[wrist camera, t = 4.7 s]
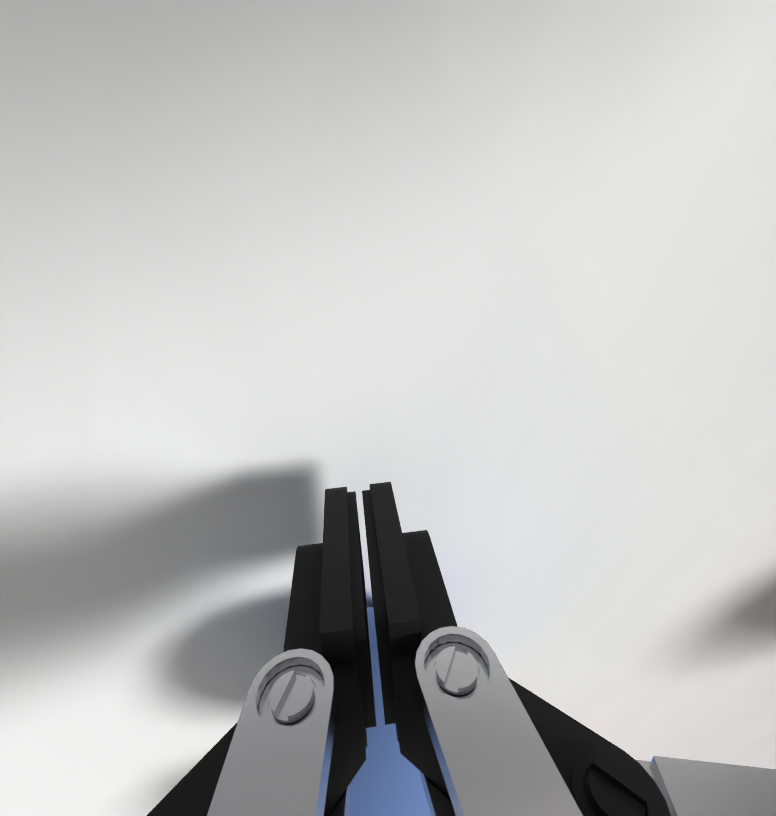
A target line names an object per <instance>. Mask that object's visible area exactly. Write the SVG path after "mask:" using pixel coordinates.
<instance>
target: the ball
mask: <svg viewBox="0 0 776 816" xmlns="http://www.w3.org/2000/svg"><path fill="white" fill-rule="evenodd" d="M367 616H368V629H369V641H370V653H371V665H372V677H373V689H374V701H375V714H376V727H370V728H366V731H367V747H366V760H365V762H364V763H363V765H362V766H361V768H360V769H359V771H358V772H357V774H356V775H355V777H354V778H353V780H352V781H351V796H350V808H349V816H431V813H430V809H429V806H428V802H427V799H426V795H425V791H424V788H423V784H422V781H421V776H420V770H418V769H417V768H416V767H415V766H414V765H413V764H412V763H411V762H410V761H408V760H407V759H406V758H405V757H404V756H403V755H402V754H401V753H400V747H399V742H398V741H397V733H396V725H395V723H394V724H388V725H385V719H384V709H383V699H382V689H381V679H380V669H379V659H378V649H377V639H376V629H375V619H374V609H373V607H367Z"/></svg>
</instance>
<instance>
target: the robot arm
mask: <svg viewBox="0 0 776 816" xmlns="http://www.w3.org/2000/svg"><path fill="white" fill-rule="evenodd" d="M362 495H363V505H364V516H365V526H366V537H367V547H368V558H369V568H370V579H371V589H372V599H373V609H374V619H375V629H376V639H377V649H378V659H379V669H380V679H381V689H382V699H383V709H384V719H385V725H388V724H394V723H395V725H396V733H397V741H398V742H399V747H400V753H401V754H402V755H403V756H404V757H405V758H406V759H407V760H408V761H410V762H411V763H412V764H413V765H414V766H415V767H416V768H417V769H418V770H420V776H421V781H422V784H423V788H424V791H425V795H426V799H427V802H428V806H429V809H430V813H431V816H776V770H775V769H767V768H758V767H749V766H740V765H731V764H722V763H713V762H704V761H695V760H686V759H677V758H668V757H659V756H653V759H652V761H651V762H650V761H641V760H635V759H633V758H632V757H631V756H630V755H628V754H627V753H626V752H625V751H623V750H622V749H620V748H618V747H617V746H615V745H614V744H612V743H611V742H609V741H607V740H606V739H604V738H603V737H601V736H600V735H598V734H596V733H595V732H593V731H592V730H590V729H589V728H587V727H585V726H584V725H582V724H581V723H579V722H578V721H576V720H574V719H573V718H571V717H570V716H568V715H566V714H565V713H563V712H562V711H560V710H559V709H557V708H555V707H554V706H552V705H551V704H549V703H548V702H546V701H544V700H543V699H541V698H540V697H538V696H537V695H535V694H533V693H532V692H530V691H529V690H527V689H526V688H524V687H522V686H521V685H519V684H518V683H516V682H514V681H513V680H511V679H510V678H508V676H507V675H506V673H505V671H504V669H503V667H502V665H501V664H500V662H499V660H498V658H497V656H496V654H495V653H494V651H493V650H492V648H491V647H490V646H489V644H488V643H487V641H485V640H484V639H483V638H482V637H480V636H479V635H478V634H477V633H475V632H473V631H470V630H468V629H466V628H461V627H457V624H456V620H455V617H454V614H453V611H452V607H451V604H450V601H449V598H448V594H447V591H446V588H445V585H444V581H443V578H442V575H441V572H440V568H439V565H438V562H437V559H436V556H435V552H434V549H433V546H432V543H431V539H430V536H429V534H428V531H427V530H424V531H416V532H408V533H402V531H401V526H400V522H399V517H398V513H397V508H396V504H395V499H394V495H393V490H392V485H391V482H385V483H376V484H370V490H365V491H362ZM370 727H376V714H375V701H374V689H373V677H372V665H371V653H370V641H369V629H368V616H367V604H366V592H365V580H364V570H363V560H362V550H361V541H360V531H359V521H358V512H357V502H356V493H355V492H348V493H347V487H341V488H332V489H326V490H325V505H324V529H323V543H320V544H312V545H304V546H298V547H297V550H296V556H295V564H294V572H293V580H292V588H291V596H290V604H289V612H288V620H287V628H286V636H285V644H284V652H283V653H281V654H279V655H277V656H275V657H274V658H272V659H271V660H270V661H269V662H267V663H266V664H265V665H264V666H263V667H262V668H261V670H260V671H259V672H258V673H257V674H256V676H255V677H254V679H253V681H252V684H251V686H250V688H249V690H248V693H247V696H246V699H245V702H244V705H243V708H242V711H241V714H240V717H239V720H238V722H237V723H236V724H235V725H234V726H233V727H232V728H231V729H230V730H229V731H228V732H227V733H226V735H225V736H224V737H223V738H222V739H221V740H220V741H219V742H218V743H217V744H216V745H215V746H214V747H213V748H212V749H211V750H210V751H209V752H208V753H207V754H206V755H205V756H204V757H203V758H202V759H201V760H200V761H199V762H198V763H197V764H196V765H195V766H194V767H193V768H192V769H191V771H190V772H189V773H188V774H187V775H186V776H185V777H184V778H183V779H182V780H181V781H180V782H179V783H178V784H177V785H176V786H175V787H174V788H173V789H172V790H171V791H170V792H169V793H168V794H167V795H166V796H165V797H164V798H163V799H162V800H161V801H160V802H159V803H158V804H157V805H156V807H155V808H154V809H153V810H152V811H151V812H150V813H149V814H148V815H147V816H349V808H350V796H351V781H352V780H353V778H354V777H355V775H356V774H357V772H358V771H359V769H360V768H361V766H362V765H363V763H364V762H365V760H366V747H367V731H366V728H370Z"/></svg>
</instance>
